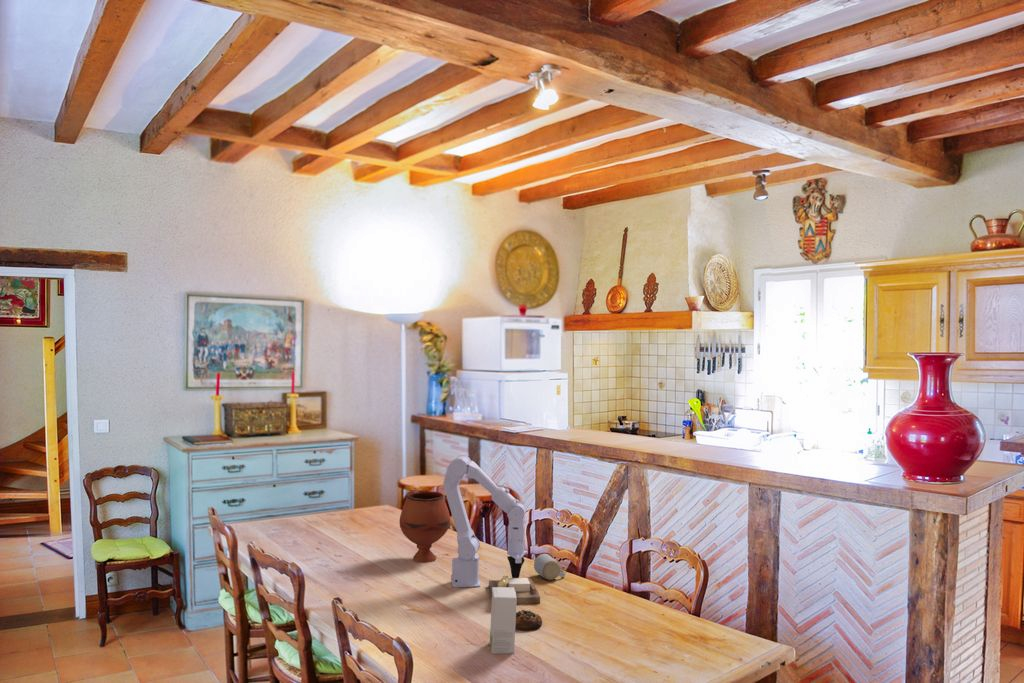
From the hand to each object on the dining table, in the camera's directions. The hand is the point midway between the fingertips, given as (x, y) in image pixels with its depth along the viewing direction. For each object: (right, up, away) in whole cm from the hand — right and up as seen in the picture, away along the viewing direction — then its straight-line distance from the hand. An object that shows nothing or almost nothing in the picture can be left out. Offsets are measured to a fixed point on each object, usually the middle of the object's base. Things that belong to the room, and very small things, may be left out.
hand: (515, 578), depth 262 cm
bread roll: (+3, -3, -35) cm, 35 cm away
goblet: (-35, -2, +30) cm, 46 cm away
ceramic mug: (+13, -4, +12) cm, 18 cm away
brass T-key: (-4, 0, -17) cm, 17 cm away
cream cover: (+1, -1, -8) cm, 8 cm away
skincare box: (-4, -3, -53) cm, 53 cm away
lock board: (-1, -3, -8) cm, 9 cm away
